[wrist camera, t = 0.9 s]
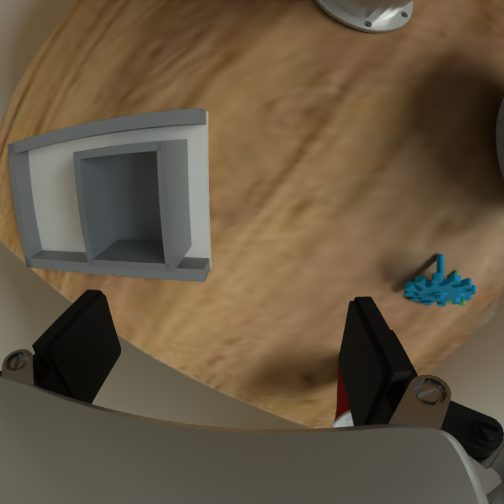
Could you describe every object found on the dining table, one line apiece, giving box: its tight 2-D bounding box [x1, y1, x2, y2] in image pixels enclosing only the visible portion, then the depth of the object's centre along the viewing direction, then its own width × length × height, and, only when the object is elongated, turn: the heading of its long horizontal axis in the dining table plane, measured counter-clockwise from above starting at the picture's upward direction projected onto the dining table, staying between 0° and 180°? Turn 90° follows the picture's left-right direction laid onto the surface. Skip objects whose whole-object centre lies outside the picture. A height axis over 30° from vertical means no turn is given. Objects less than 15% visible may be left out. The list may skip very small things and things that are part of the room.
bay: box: [8, 108, 212, 282], centre depth 30 cm, size 18×28×4 cm, turn 89°
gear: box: [404, 254, 476, 306], centre depth 31 cm, size 11×6×10 cm
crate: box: [73, 139, 192, 272], centre depth 28 cm, size 12×10×7 cm
